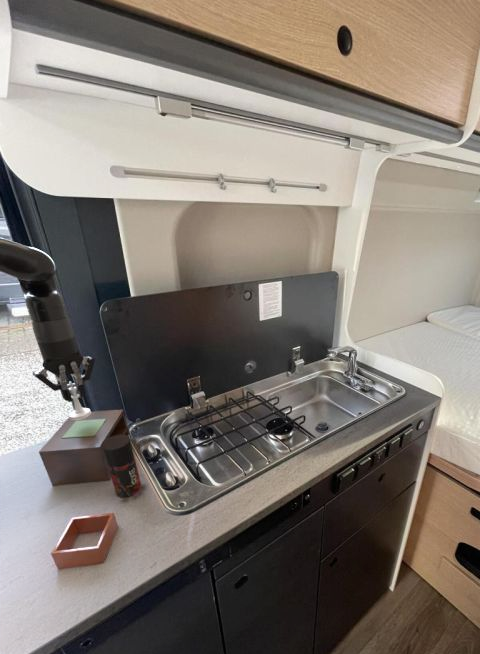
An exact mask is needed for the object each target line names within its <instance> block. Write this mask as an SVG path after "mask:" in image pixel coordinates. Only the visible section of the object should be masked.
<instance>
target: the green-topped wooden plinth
mask: <svg viewBox="0 0 480 654" xmlns="http://www.w3.org/2000/svg"><path fill="white" fill-rule="evenodd" d="M129 434H130V431H129V427H128V422H127V418H126V414H125V409H113V410H112V409H109V410H94V411H91V414H90V415H89V416H88V417H86V418H83V419H79V420H72V419H70V416H69V417H67V419H66V420H65V421H64V422H63V424H62V425H60V427H59V428H58V430H57V431H56V432H55V433H54V434H53V435H52V436H51V437H50V438H49V440H48V441H47V442H46V443H45V444H44V445H43V446H42V447H41V449H40V450H39V451H38V454H39V457H40V458H41V461H42V463H43V467H44V468H45V472H46V473H47V476H48V479H49V481H50V483H51V485H52V486H62V485H73V484H84V483H93V482H94V483H95V482H105V481H110V480H112V478H111V475H110V472H109V468H108V465H107V462H106V458H105V455H104V452H103V448H102V443H103V442H104V441H105V440H106V439H108V438H110V437H112V436H115V435H127V436H128V435H129Z"/></svg>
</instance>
